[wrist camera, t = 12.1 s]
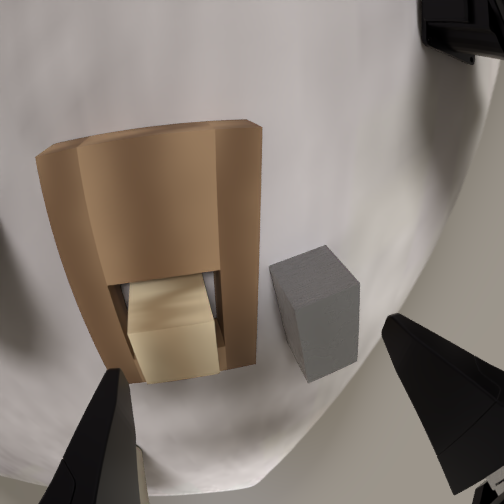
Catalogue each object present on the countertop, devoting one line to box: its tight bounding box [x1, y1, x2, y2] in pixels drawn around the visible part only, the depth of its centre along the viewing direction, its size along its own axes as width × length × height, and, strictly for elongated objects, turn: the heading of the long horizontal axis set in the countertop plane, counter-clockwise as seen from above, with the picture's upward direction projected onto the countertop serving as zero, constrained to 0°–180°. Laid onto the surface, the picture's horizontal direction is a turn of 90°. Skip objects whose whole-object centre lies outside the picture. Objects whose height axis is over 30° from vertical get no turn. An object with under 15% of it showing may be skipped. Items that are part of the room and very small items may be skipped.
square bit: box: [127, 273, 220, 384], centre depth 19 cm, size 4×4×6 cm
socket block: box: [35, 119, 262, 384], centre depth 18 cm, size 11×17×3 cm, turn 0°
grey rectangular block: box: [269, 245, 360, 383], centre depth 23 cm, size 4×9×5 cm, turn 14°
